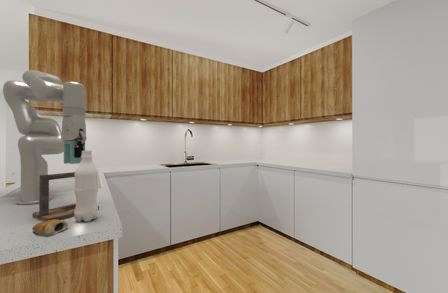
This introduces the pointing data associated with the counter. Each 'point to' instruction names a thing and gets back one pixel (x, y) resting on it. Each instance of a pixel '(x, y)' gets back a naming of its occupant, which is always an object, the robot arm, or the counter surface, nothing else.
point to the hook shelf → (57, 213)
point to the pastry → (50, 227)
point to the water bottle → (86, 188)
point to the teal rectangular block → (70, 153)
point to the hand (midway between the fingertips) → (74, 157)
